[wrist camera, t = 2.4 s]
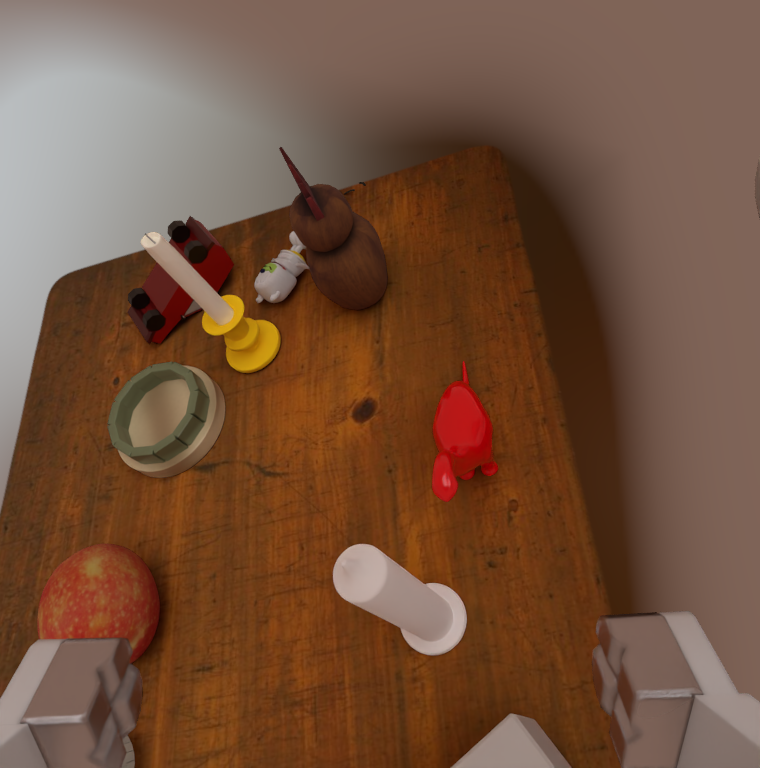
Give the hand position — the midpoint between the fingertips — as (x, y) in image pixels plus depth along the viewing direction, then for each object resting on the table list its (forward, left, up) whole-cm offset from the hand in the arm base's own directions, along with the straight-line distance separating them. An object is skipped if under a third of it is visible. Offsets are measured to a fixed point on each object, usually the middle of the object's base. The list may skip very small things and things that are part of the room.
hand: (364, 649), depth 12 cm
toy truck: (+11, -47, -27) cm, 55 cm away
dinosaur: (-5, -17, -32) cm, 36 cm away
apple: (+24, -21, -32) cm, 45 cm away
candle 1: (+6, -37, -32) cm, 49 cm away
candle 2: (+4, -9, -32) cm, 33 cm away
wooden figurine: (-5, -36, -32) cm, 48 cm away
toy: (-10, -47, -30) cm, 56 cm away
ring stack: (+16, -35, -32) cm, 50 cm away
